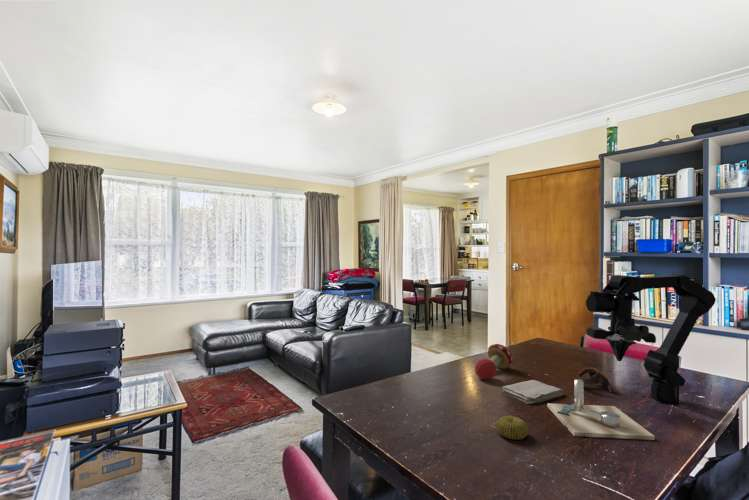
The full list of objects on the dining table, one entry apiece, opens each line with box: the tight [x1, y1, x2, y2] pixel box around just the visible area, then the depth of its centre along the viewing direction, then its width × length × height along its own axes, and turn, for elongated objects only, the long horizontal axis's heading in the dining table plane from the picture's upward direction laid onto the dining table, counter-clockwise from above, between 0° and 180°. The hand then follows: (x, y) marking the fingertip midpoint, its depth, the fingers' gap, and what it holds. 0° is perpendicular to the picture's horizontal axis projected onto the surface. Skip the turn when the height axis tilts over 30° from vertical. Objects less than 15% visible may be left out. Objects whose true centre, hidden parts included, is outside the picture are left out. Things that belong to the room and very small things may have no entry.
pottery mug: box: [577, 367, 612, 393], centre depth 129 cm, size 12×10×8 cm
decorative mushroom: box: [487, 343, 514, 370], centre depth 147 cm, size 11×11×15 cm
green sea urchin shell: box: [495, 415, 529, 441], centre depth 96 cm, size 8×4×8 cm
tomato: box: [474, 358, 497, 381], centre depth 137 cm, size 8×8×8 cm
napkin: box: [546, 403, 656, 441], centre depth 103 cm, size 20×18×1 cm
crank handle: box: [565, 378, 620, 428], centre depth 103 cm, size 14×4×10 cm, turn 41°
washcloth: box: [501, 379, 564, 405], centre depth 123 cm, size 12×18×3 cm, turn 119°
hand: (618, 360), depth 119 cm, fingers closed
